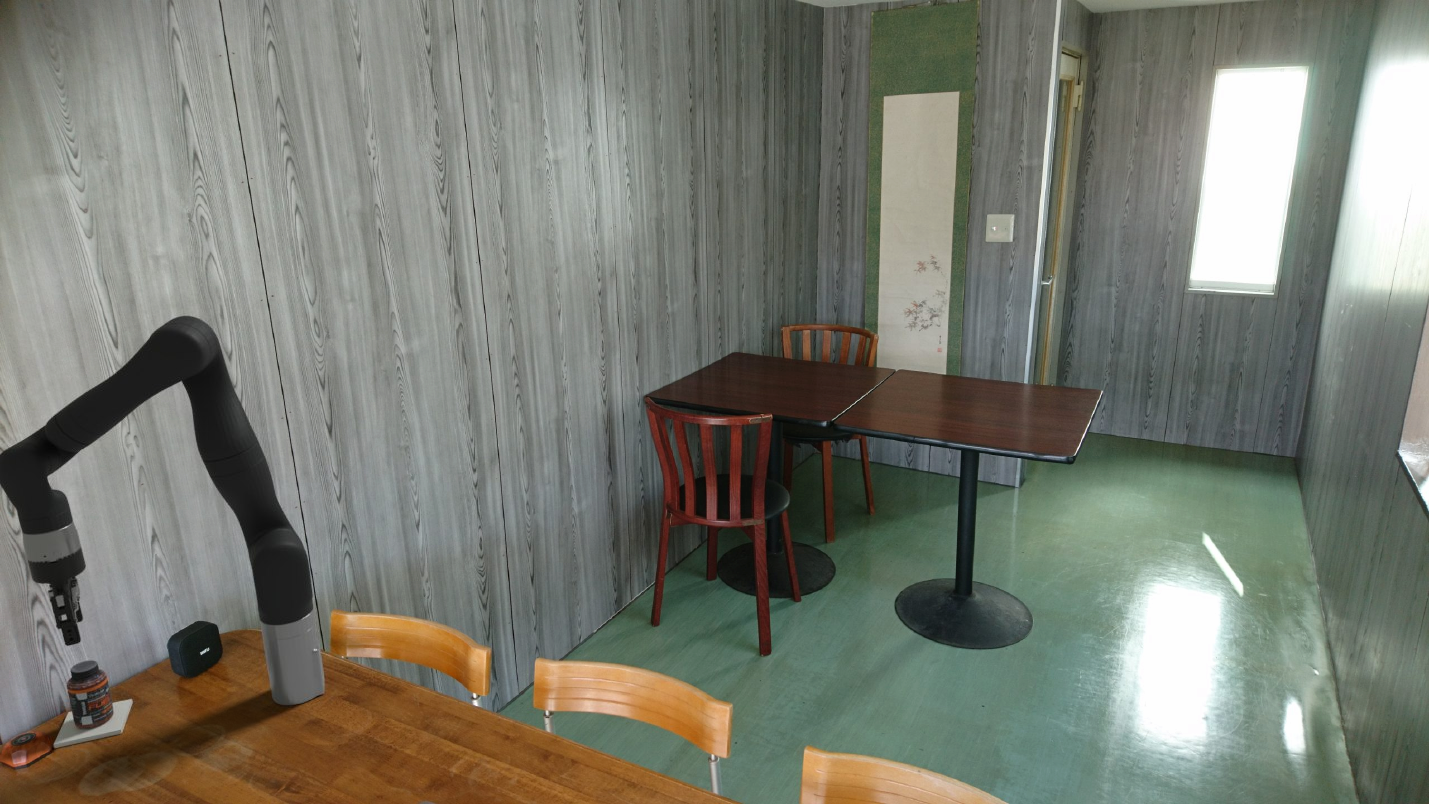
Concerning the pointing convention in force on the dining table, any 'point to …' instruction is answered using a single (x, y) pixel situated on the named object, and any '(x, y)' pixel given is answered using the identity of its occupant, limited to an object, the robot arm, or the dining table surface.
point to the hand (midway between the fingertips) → (74, 632)
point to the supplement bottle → (89, 695)
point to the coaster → (111, 727)
